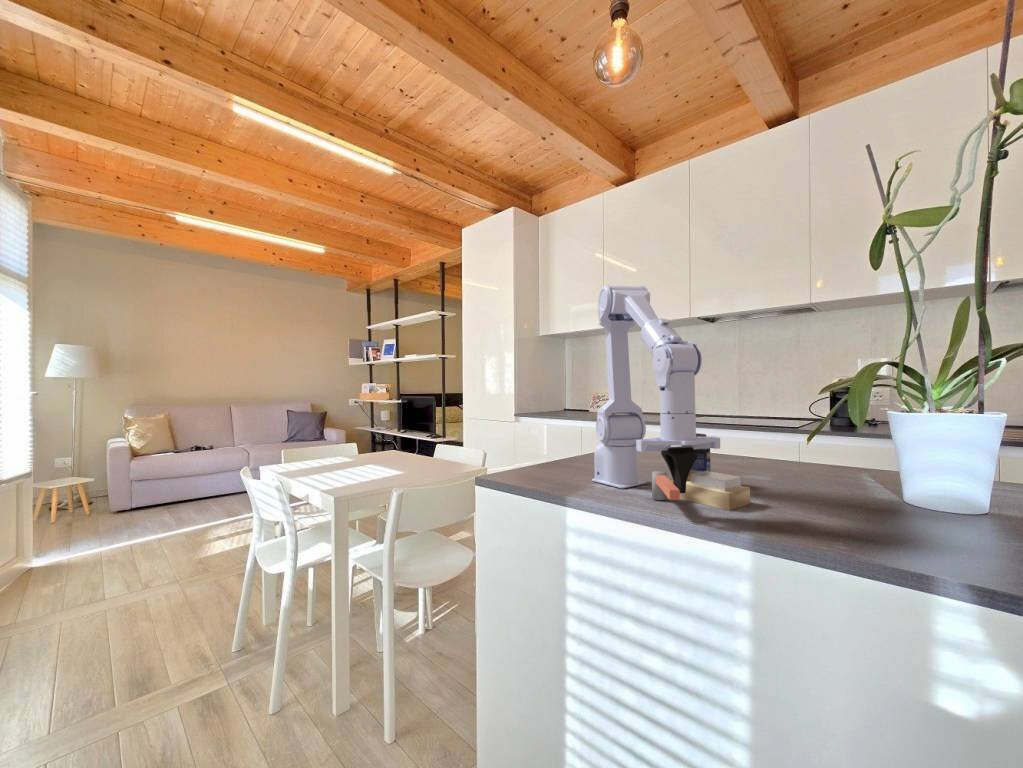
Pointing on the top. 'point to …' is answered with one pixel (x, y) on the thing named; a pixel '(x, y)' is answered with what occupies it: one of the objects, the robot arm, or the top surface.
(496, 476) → the top surface
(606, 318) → the robot arm
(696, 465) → the pill bottle
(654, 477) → the hammer
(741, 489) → the body
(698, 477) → the grey slanted block
